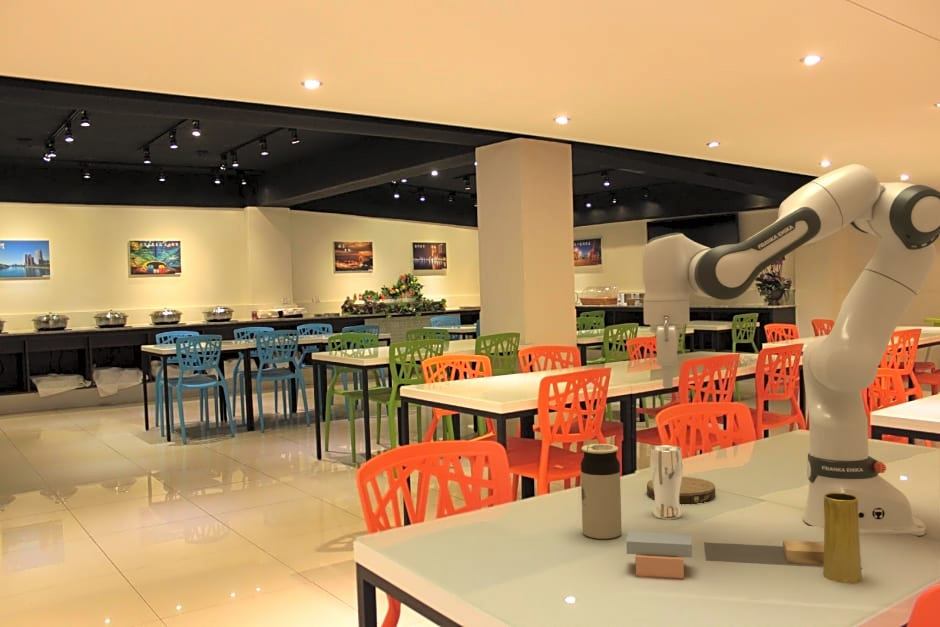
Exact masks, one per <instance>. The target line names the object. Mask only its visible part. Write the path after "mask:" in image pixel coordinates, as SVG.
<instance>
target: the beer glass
mask: <svg viewBox="0 0 940 627" xmlns="http://www.w3.org/2000/svg"><path fill="white" fill-rule="evenodd" d="M649 468H650V470H649V471H650V472H649V473H650V478H651V479H650V480H652V484H653V489H654V495H655V500H654V507H653V513H652V514H653V516H654V517H655V518H657V519H660V520H661V519H662V520H677V519H680V518H682V515H683V513H682V510H681V505H680V501H679V499H680V489H681V483H682V477H683V475H684V474H683V472H684V471H683V470H684V469H683V468H684V466H683V454H682V447H681V446H676V445H670V444H669V445H668V444H667V445H665V444H661V445H653V446H651V447H650V456H649Z"/></svg>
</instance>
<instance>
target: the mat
mask: <svg viewBox="0 0 940 627" xmlns="http://www.w3.org/2000/svg"><path fill="white" fill-rule="evenodd" d="M703 547H704V555H705V556H704V557H705V561H708V562H709V561H711V562H724V563H742V564H743V563H744V564H757V565H758V564H760V565H761V564H762V565H763V564H764V565H777V566H778V565H781V566H795V567H797V566H798V567H813V568H815V567H816V568H823V564H806V563H788V562H787V560H786V558H785V556H784V553H783V545H782V546H780V545H765V544H764V545H763V544H762V545H760V544H757V545H756V544H746V543H745V544H742V543H726V542H725V543H723V542H722V543H721V542H707V541H706V542H705V541H704V542H703ZM861 570H863V567H861Z"/></svg>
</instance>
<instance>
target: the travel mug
mask: <svg viewBox="0 0 940 627" xmlns="http://www.w3.org/2000/svg"><path fill="white" fill-rule="evenodd" d="M581 451H582V453H583V454H582V455H583V458H582V460H581V461H580V484H581V485H580V487H581V491H580V492H581V518H582V519H581V522H582V524H581V525H582V534H583V535H584V536H587V537H588V538H591V539H595V538H596V540H611V539H615V538H617V537H620V536H621V535H622V528H623V527H622V498H621V496H622V495H621V494H622V493H621V489H622V488H621V463H620V461H619V460H618V458H617V453H618V451H619V447H618V446H617V445H614V444H608V443H592V444H591V443H590V444H586V445H583V446H581Z"/></svg>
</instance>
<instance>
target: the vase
mask: <svg viewBox="0 0 940 627" xmlns="http://www.w3.org/2000/svg"><path fill="white" fill-rule="evenodd" d="M824 523H825V524H824V528H823V539H824V540H823V542H824V558H823V567H822V569H823V570H822V575H823V578H826V579H827V580H830V581H833V582H836V583H841V584H854V583H855V584H858V583H860V582H861V581H863V577H862V576H863V575H862V569H861V568H862V561H861V560H862V559H861V545H860V544H861V543H860V542H861V540H860V534H859V522H858V497H857V496H855V495H852V494H847V493H827V494H824Z"/></svg>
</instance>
